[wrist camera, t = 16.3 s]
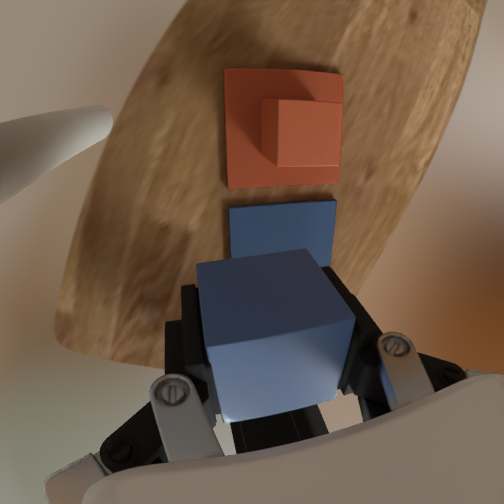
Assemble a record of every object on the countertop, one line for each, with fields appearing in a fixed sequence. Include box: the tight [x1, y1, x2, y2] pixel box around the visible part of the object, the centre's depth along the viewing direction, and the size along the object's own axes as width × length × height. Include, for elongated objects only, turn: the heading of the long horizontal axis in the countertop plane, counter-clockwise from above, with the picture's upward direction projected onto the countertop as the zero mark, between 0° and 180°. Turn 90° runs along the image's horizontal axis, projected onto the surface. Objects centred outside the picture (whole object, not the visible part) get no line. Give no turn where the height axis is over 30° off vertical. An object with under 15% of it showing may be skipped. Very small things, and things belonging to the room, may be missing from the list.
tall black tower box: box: [230, 404, 329, 454], centre depth 21 cm, size 8×6×25 cm
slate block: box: [196, 248, 356, 423], centre depth 11 cm, size 4×4×4 cm
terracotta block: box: [261, 98, 342, 167], centre depth 19 cm, size 4×4×4 cm
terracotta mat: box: [224, 68, 343, 189], centre depth 21 cm, size 9×9×1 cm
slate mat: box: [228, 199, 337, 267], centre depth 26 cm, size 9×9×1 cm
